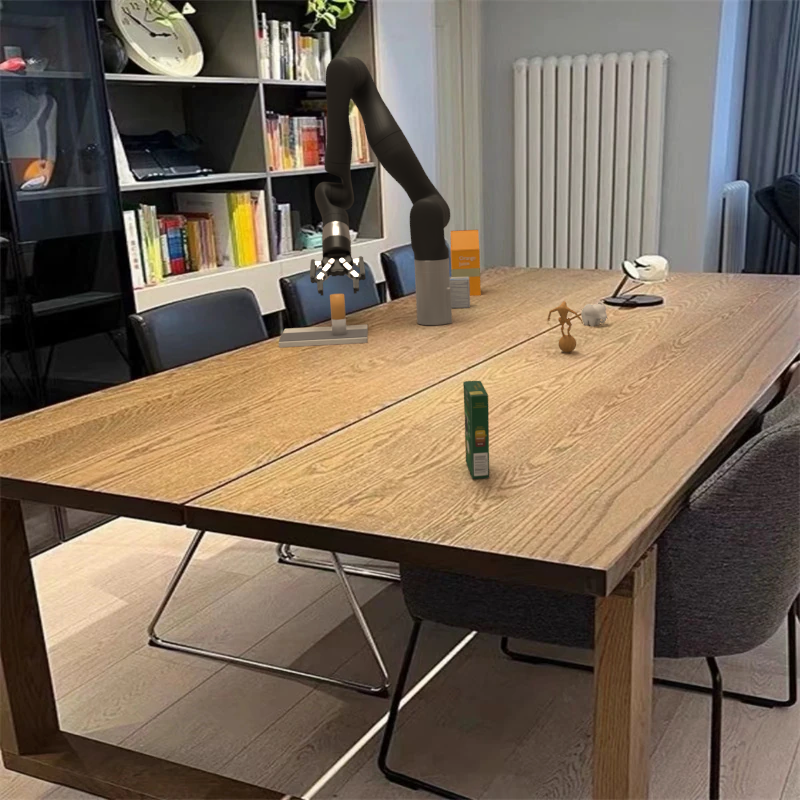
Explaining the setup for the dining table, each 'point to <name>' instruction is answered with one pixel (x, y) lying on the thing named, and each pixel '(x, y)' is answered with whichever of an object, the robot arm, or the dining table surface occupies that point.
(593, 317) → the elephant figurine
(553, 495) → the dining table surface
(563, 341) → the figurine
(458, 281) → the medicine box
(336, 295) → the orange and grey block
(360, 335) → the board
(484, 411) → the coffee box
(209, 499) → the dining table surface
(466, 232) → the orange juice
